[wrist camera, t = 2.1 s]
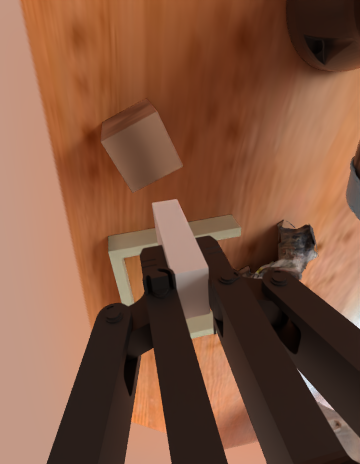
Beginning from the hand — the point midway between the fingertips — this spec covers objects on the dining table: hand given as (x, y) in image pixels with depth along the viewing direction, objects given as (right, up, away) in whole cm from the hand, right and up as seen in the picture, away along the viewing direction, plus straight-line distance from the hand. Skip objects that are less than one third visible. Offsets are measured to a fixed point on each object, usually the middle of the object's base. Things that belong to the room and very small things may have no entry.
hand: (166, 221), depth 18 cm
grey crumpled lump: (+16, -5, +34) cm, 38 cm away
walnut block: (-5, +12, +19) cm, 23 cm away
